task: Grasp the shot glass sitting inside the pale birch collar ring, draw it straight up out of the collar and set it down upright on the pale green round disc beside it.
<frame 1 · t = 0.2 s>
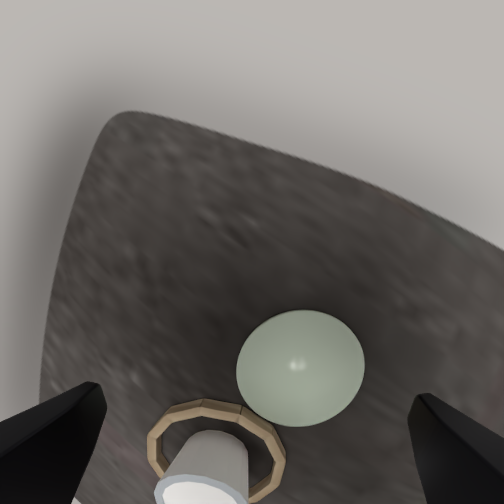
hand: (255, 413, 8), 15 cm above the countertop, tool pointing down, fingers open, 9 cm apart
shot glass: (216, 452, 24), resting in collar
pale green round disc: (300, 370, 23), on the countertop
collar: (216, 454, 23), on the countertop
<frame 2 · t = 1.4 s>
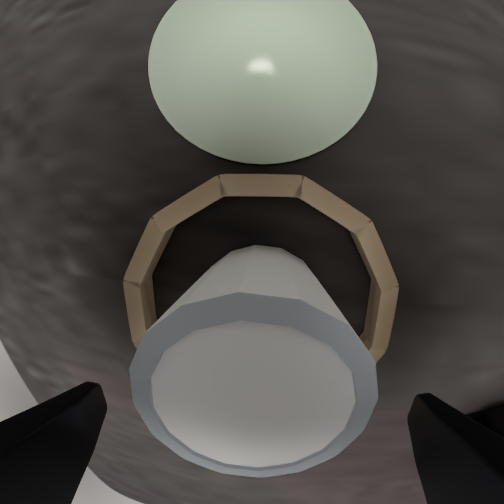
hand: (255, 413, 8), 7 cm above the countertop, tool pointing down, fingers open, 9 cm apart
shot glass: (260, 303, 14), resting in collar
pale green round disc: (262, 55, 11), on the countertop
collar: (260, 305, 14), on the countertop
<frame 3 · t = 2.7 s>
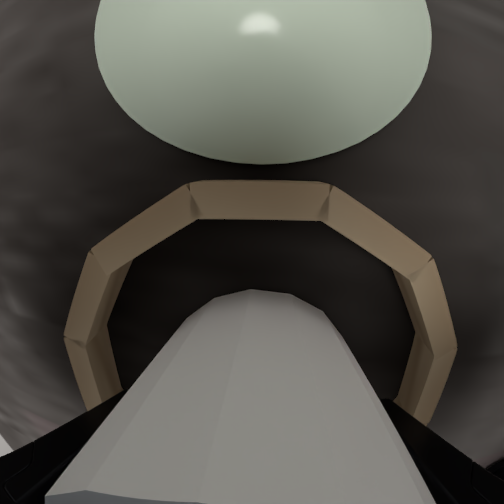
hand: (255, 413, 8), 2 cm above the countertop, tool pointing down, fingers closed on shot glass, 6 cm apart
shot glass: (258, 367, 10), resting in collar, touching gripper
pale green round disc: (261, 3, 7), on the countertop
collar: (258, 371, 10), on the countertop
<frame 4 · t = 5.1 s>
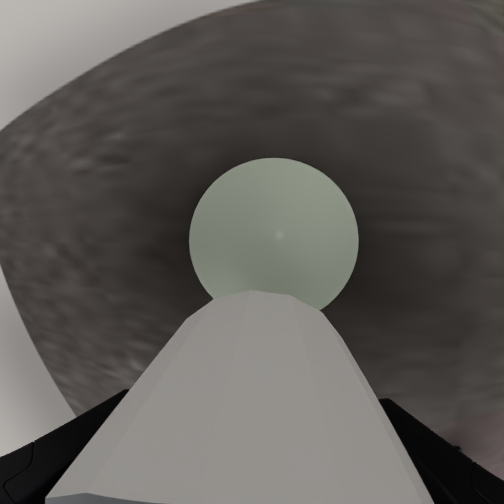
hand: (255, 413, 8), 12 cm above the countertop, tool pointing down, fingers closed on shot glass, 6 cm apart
shot glass: (258, 368, 10), point 9 cm above the countertop, touching gripper
pale green round disc: (274, 243, 18), on the countertop
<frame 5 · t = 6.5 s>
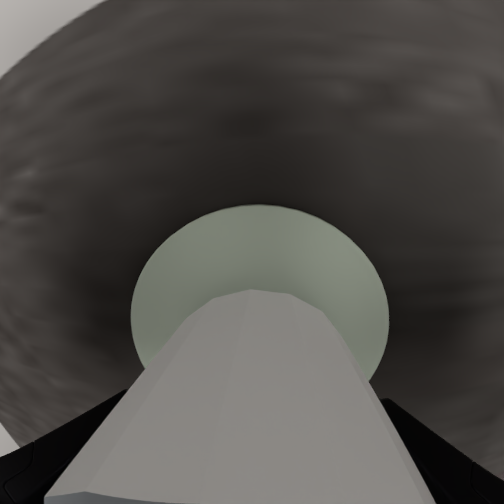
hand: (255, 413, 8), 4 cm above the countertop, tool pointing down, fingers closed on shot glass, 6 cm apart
shot glass: (258, 367, 10), point 2 cm above the countertop, touching gripper
pale green round disc: (258, 334, 12), on the countertop
when the fingers open (4 cm above the countertop, at t = 7.6 s): shot glass stays where it is, resting on pale green round disc.
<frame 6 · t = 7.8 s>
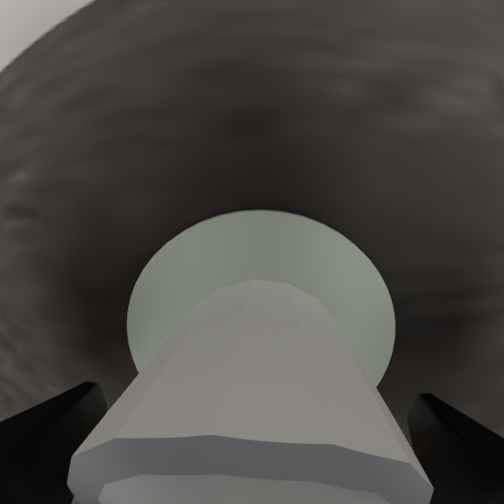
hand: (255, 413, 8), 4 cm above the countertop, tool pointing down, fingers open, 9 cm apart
shot glass: (260, 353, 11), resting on pale green round disc
pale green round disc: (260, 344, 11), on the countertop
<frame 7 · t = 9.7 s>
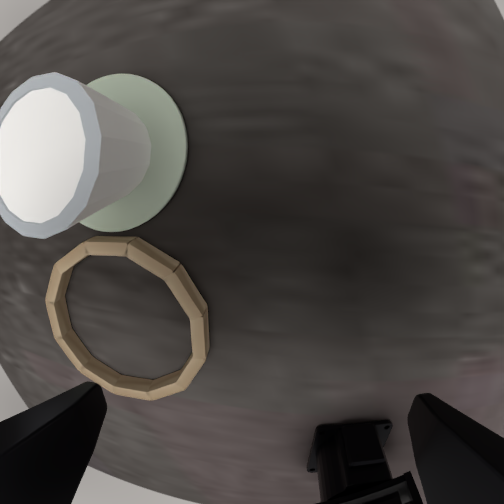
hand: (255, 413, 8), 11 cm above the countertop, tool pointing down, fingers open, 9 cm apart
shot glass: (109, 153, 17), resting on pale green round disc
pale green round disc: (112, 152, 17), on the countertop
collar: (125, 319, 20), on the countertop
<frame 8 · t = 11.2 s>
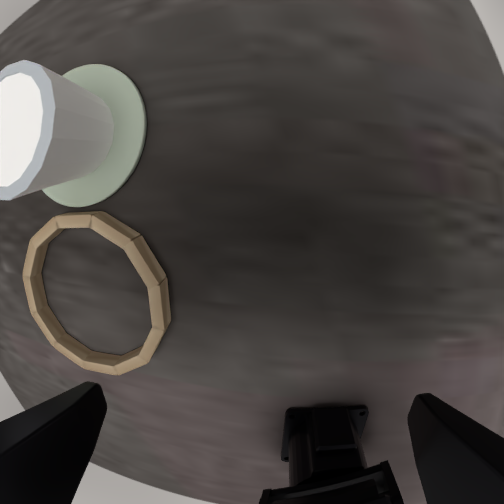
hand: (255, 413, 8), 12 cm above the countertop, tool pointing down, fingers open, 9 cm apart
shot glass: (79, 135, 17), resting on pale green round disc
pale green round disc: (82, 134, 18), on the countertop
collar: (94, 293, 20), on the countertop
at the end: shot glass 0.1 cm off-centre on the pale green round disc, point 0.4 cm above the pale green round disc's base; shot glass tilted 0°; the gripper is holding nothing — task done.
